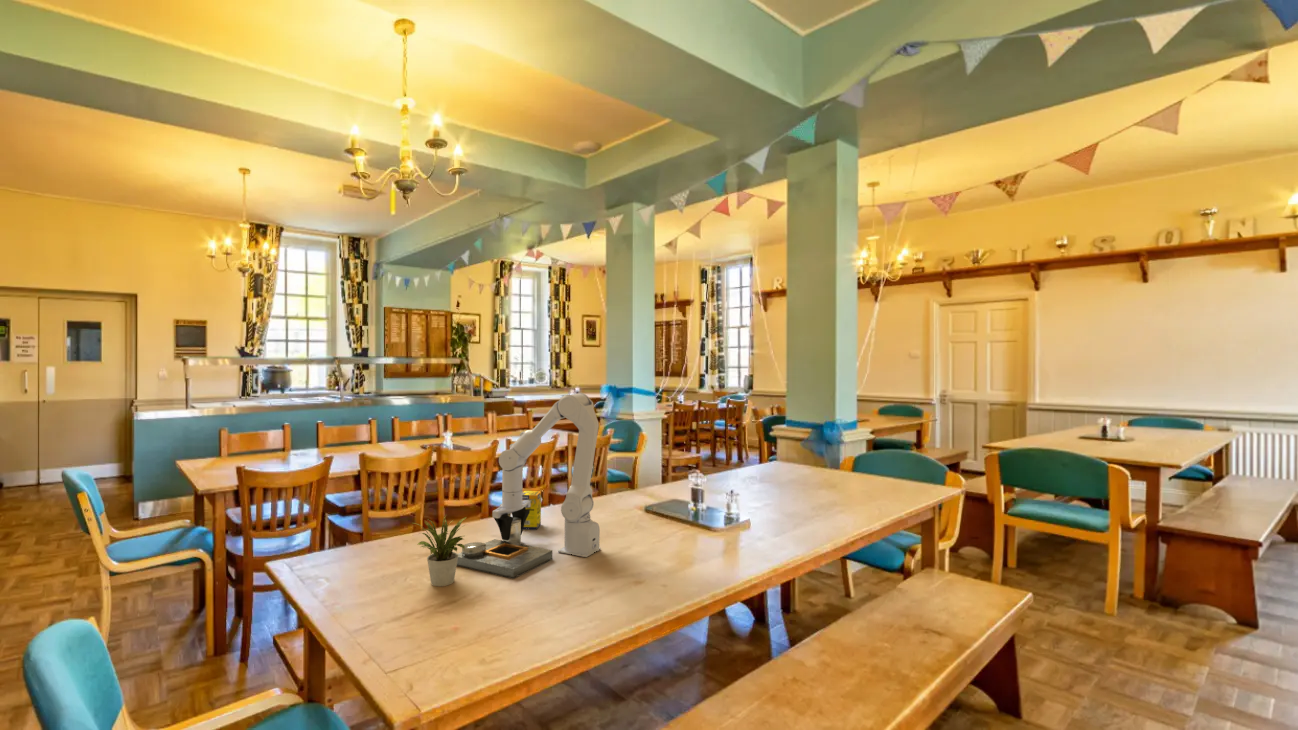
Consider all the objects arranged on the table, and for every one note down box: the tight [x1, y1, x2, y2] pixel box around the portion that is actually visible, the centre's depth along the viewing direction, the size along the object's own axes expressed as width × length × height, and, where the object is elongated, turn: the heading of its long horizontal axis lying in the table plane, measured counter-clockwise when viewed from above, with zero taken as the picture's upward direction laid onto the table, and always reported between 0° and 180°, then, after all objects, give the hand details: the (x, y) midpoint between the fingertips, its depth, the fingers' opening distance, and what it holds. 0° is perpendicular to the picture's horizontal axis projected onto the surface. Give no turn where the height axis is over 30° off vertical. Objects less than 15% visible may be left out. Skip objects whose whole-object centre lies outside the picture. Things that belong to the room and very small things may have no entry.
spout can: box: [502, 513, 522, 544], centre depth 171 cm, size 5×5×9 cm
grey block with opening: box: [456, 538, 553, 580], centre depth 155 cm, size 20×16×4 cm
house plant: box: [413, 514, 469, 587], centre depth 140 cm, size 14×14×16 cm
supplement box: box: [522, 490, 542, 530], centre depth 188 cm, size 6×6×11 cm
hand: (511, 537), depth 171 cm, fingers closed on spout can, 5 cm apart
